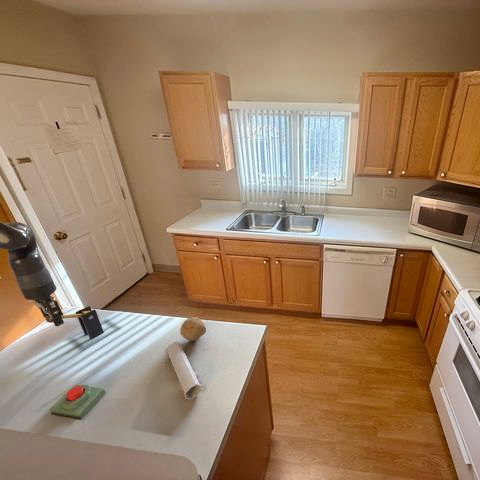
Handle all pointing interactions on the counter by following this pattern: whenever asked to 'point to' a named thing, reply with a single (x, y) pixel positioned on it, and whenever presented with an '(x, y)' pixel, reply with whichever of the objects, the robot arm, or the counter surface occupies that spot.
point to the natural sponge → (192, 329)
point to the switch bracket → (90, 323)
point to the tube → (184, 371)
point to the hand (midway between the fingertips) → (54, 320)
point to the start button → (75, 393)
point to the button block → (78, 402)
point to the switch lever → (66, 316)
